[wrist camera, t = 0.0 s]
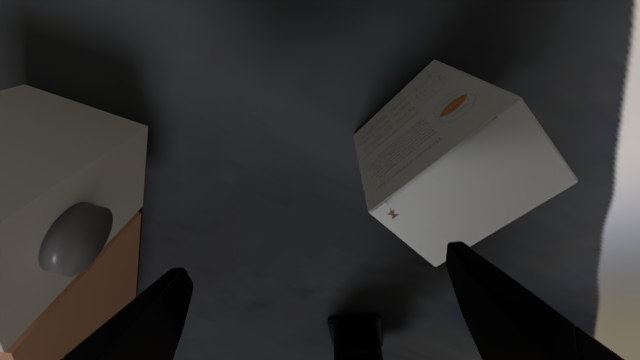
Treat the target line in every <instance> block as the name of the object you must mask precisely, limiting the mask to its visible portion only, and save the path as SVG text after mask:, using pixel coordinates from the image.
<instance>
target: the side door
mask: <svg viewBox="0 0 640 360" xmlns="http://www.w3.org/2000/svg"><path fill="white" fill-rule="evenodd" d="M140 227H141V212H137V213H136V214H135V215H134V216H133V217H132V218H131V219H130V220H129V221H128V222H127V223H126V224H125V226H124V227H123V228H122V229H121V230H120V231H119V232H118V233H117V234H116V235H115V236H114V237H113V238H112V239H111V240H110V241H109V242H108V244H107V245H106V246H105V247H104V248H103V249H102V251H101V252H100V254H99V255H98V256H97V258H96V259H95V260H94V261H93V263H92V264H91V265H90V266H89V267H88V268H86V269H85V270H84V271H83V272H81V273H80V274H78V275H77V276H76V277H75V278H74V279H73V281H72V282H71V283H70V284H69V285H68V286H67V287H66V288H65V289H64V290H63V291H62V292H61V293H60V294H59V295H58V296H57V297H56V298H55V300H54V301H53V302H52V303H51V304H50V305H49V306H48V307H47V308H46V309H45V310H44V311H43V312H42V313H41V314H40V315H39V316H38V318H37V319H36V320H35V321H34V322H33V323H32V324H31V325H30V326H29V327H28V328H27V329H26V330H25V331H24V332H23V333H22V334H21V335H20V337H19V338H18V339H17V340H16V341H15V342H14V343H13V344H12V345H11V346H10V347H9V348H8V349H7V350H6V351H5V352H4V353H3V352H0V360H60V359H62V358H64V356H65V355H66V354H67V353H69V352H70V351H71V350H72V349H74V348H75V347H76V346H77V345H78V344H80V343H81V342H82V341H83V340H84V339H86V338H87V337H88V336H89V335H91V334H92V333H93V332H94V331H95V330H97V329H98V328H99V327H100V326H102V325H103V324H104V323H105V322H106V321H108V320H109V319H110V318H111V317H113V316H114V315H115V314H116V313H117V312H119V311H120V310H121V309H122V308H123V307H125V306H126V305H127V304H128V303H130V302H131V301H132V300H133V299H134V298H136V290H137V274H138V258H139V243H140Z"/></svg>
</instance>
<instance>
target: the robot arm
mask: <svg viewBox="0 0 640 360" xmlns="http://www.w3.org/2000/svg"><path fill="white" fill-rule="evenodd" d="M446 265H447V269H448V272H449V275H450V278H451V281H452V285H453V288H454V291H455V294H456V297H457V300H458V303H459V306H460V309H461V312H462V315H463V317H464V319H465V322H466V324H467V326H468V328H469V331H470V333H471V335H472V337H473V339H474V342H475V344H476V346H477V348H478V351H479V353H480V355H481V357H482V359H483V360H624V359H622V358H621V357H620V356H618V355H617V354H616V353H614V352H613V351H611V350H610V349H609V348H607V347H606V346H604V345H603V344H602V343H600V342H599V341H597V340H596V339H595V338H593V337H592V336H590V335H589V334H588V333H586V332H585V331H584V330H582V329H581V328H580V327H578V326H576V327H575V324H574V323H573V322H571V321H570V320H569V319H567V318H566V317H564V316H563V315H562V314H560V313H559V312H558V311H556V310H555V309H554V308H552V307H551V306H550V305H548V304H547V303H545V302H544V301H543V300H541V299H540V298H539V297H537V296H536V295H535V294H533V293H532V292H531V291H529V290H528V289H526V288H525V287H524V286H522V285H521V284H520V283H518V282H517V281H516V280H514V279H513V278H512V277H510V276H509V275H507V274H506V273H505V272H503V271H502V270H501V269H499V268H498V267H497V266H495V265H494V264H493V263H491V262H490V261H488V260H487V259H486V258H484V257H483V256H482V255H480V254H479V253H478V252H476V251H475V250H474V249H472V248H471V247H469V246H468V245H467V244H465V243H464V242H462V241H454V242H449V243H448V245H447V253H446ZM192 292H193V282H192V280H191V279H190V277H189V275H188V274H187V272H186V270H185V269H184V268H172V269H170V270H169V271H167V272H166V273H165V274H164V275H162V276H161V277H160V278H159V279H158V280H156V281H155V282H154V283H153V284H152V285H150V286H149V287H148V288H147V289H145V290H144V291H143V292H142V293H141V294H139V295H138V296H137V297H136V298H134V299H133V300H132V301H131V302H130V303H128V304H127V305H126V306H125V307H123V308H122V309H121V310H120V311H119V312H117V313H116V314H115V315H114V316H113V317H111V318H110V319H109V320H108V321H106V322H105V323H104V324H103V325H102V326H100V327H99V328H98V329H97V330H95V331H94V332H93V333H92V334H91V335H89V336H88V337H87V338H86V339H84V340H83V341H82V342H81V343H80V344H78V345H77V346H76V347H75V348H74V349H72V350H71V351H70V352H69V353H67V354H66V355H65V356H64V358H62V359H60V360H173V357H174V354H175V351H176V349H177V346H178V343H179V340H180V337H181V334H182V331H183V327H184V324H185V320H186V316H187V312H188V308H189V304H190V300H191V296H192ZM328 326H329V330H330V334H331V339H332V343H333V347H334V360H383V357H382V350H381V346H383V339H382V326H381V317H380V315H378V314H372V315H358V316H344V317H331V318H328Z"/></svg>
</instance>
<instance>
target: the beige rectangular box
mask: <svg viewBox="0 0 640 360" xmlns="http://www.w3.org/2000/svg"><path fill="white" fill-rule="evenodd" d="M147 137H148V126H146V125H143V124H140V123H137V122H134V121H131V120H129V119H126V118H123V117H120V116H117V115H114V114H111V113H108V112H105V111H102V110H99V109H96V108H93V107H90V106H87V105H84V104H81V103H78V102H75V101H72V100H70V99H67V98H64V97H61V96H58V95H55V94H52V93H49V92H46V91H43V90H40V89H37V88H34V87H31V86H28V85H21V86H17V87H13V88H9V89H5V90H1V91H0V352H3V353H4V352H5V351H6V350H7V349H8V348H9V347H10V346H11V345H12V344H13V343H14V342H15V341H16V340H17V339H18V338H19V337H20V335H21V334H22V333H23V332H24V331H25V330H26V329H27V328H28V327H29V326H30V325H31V324H32V323H33V322H34V321H35V320H36V319H37V318H38V316H39V315H40V314H41V313H42V312H43V311H44V310H45V309H46V308H47V307H48V306H49V305H50V304H51V303H52V302H53V301H54V300H55V298H56V297H57V296H58V295H59V294H60V293H61V292H62V291H63V290H64V289H65V288H66V287H67V286H68V285H69V284H70V283H71V282H72V281H73V279H74V278H75V277H76V276H77V275H78V274H80V273H81V272H83V271H84V270H85V269H86V268H88V267H89V266H90V265H91V264H92V263H93V261H94V260H95V259H96V258H97V256H98V255H99V254H100V252H101V251H102V249H103V248H104V247H105V246H106V245H107V244H108V242H109V241H110V240H111V239H112V238H113V237H114V236H115V235H116V234H117V233H118V232H119V231H120V230H121V229H122V228H123V227H124V226H125V224H126V223H127V222H128V221H129V220H130V219H131V218H132V217H133V216H134V215H135V214H136V213H137V212H138V211H139V210H140V209H141V208H142V207H143V197H144V182H145V167H146V152H147Z"/></svg>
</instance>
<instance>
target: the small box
mask: <svg viewBox="0 0 640 360" xmlns="http://www.w3.org/2000/svg"><path fill="white" fill-rule="evenodd" d="M353 139H354V143H355V148H356V152H357V157H358V162H359V167H360V172H361V177H362V183H363V188H364V193H365V197H366V202H367V207H368V211H369V213H370V214H371V215H372V216H374V217H375V218H376V219H377V220H379V221H380V222H381V223H382V224H383V225H384V226H386V227H387V228H388V229H389V230H391V231H392V232H393V233H394V234H395V235H397V236H398V237H399V238H400V239H401V240H403V241H404V242H405V243H406V244H408V245H409V246H410V247H411V248H412V249H414V250H415V251H416V252H417V253H418V254H420V255H421V256H422V257H423V258H425V259H426V260H427V261H428V262H430V263H431V264H432V265H433V266H434V267H437V266H439V265H440V264H442V263H444V262H445V261H446V253H447V245H448V243H449V242H454V241H462V242H464V243H465V244H467V245H468V246H469V247H470V246H472V245H474V244H475V243H477V242H479V241H480V240H482V239H484V238H485V237H487V236H489V235H490V234H492V233H494V232H495V231H497V230H499V229H500V228H502V227H504V226H505V225H507V224H509V223H510V222H512V221H514V220H515V219H517V218H519V217H520V216H522V215H524V214H525V213H527V212H529V211H530V210H532V209H534V208H535V207H537V206H539V205H540V204H542V203H544V202H546V201H547V200H549V199H550V198H552V197H554V196H556V195H557V194H559V193H561V192H562V191H564V190H566V189H567V188H569V187H571V186H572V185H574V184H576V183H577V182H578V179H577V177H576V176H575V174H574V173H573V171H572V170H571V169H570V167H569V166H568V164H567V163H566V161H565V160H564V158H563V157H562V155H561V154H560V152H559V151H558V150H557V148H556V147H555V145H554V144H553V142H552V141H551V139H550V138H549V137H548V135H547V134H546V132H545V131H544V129H543V128H542V126H541V125H540V124H539V122H538V121H537V119H536V118H535V116H534V115H533V114H532V112H531V111H530V109H529V108H528V106H527V105H526V104H525V102H524V101H523V99H522V98H521V97H520V96H518V95H516V94H513V93H511V92H509V91H506V90H504V89H502V88H499V87H497V86H495V85H492V84H490V83H488V82H486V81H483V80H481V79H479V78H477V77H474V76H472V75H470V74H467V73H465V72H463V71H460V70H458V69H455V68H453V67H451V66H449V65H446V64H444V63H441V62H439V61H437V60H433V61H432V62H431V63H430V64H429V65H428V66H426V67H425V68H424V69H423V70H422V71H421V72H420V73H419V74H418V75H417V76H416V77H415V78H414V79H413V80H412V81H411V82H410V83H409V84H407V85H406V86H405V87H404V88H403V89H402V90H401V91H400V92H399V93H398V94H397V95H396V96H395V97H394V98H393V99H392V100H390V101H389V102H388V103H387V104H386V105H385V106H384V107H383V108H382V109H381V110H380V111H379V112H378V113H377V114H376V115H375V116H373V117H372V118H371V119H370V120H369V121H368V122H367V123H366V124H365V125H364V126H363V127H362V128H361V129H360V130H359V131H357V132H356V133H355V134H354V135H353Z"/></svg>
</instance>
